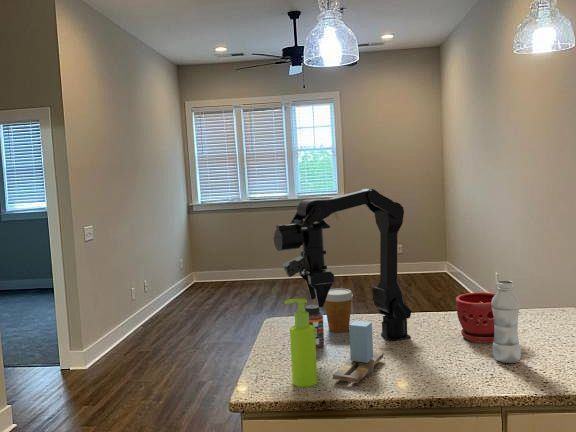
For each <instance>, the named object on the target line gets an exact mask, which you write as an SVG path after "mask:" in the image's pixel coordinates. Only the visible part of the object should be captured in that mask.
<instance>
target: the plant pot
mask: <svg viewBox="0 0 576 432" xmlns="http://www.w3.org/2000/svg"><path fill="white" fill-rule="evenodd" d="M495 294H496V293H494V292H493V293H492V292H468V293H463V294H460V295H457V296H456V297H455V307H456V312H457V318H458V321H459V325H460V326H461V328H462V329H461V331H460V333H461V335H462V336H463V338H465V339H466V340H467V341H470V342H475V343H480V344H487V343H488V344H489V343H493V342H494V330H495V328H494V317H493V311H492V305H491V301H492V298H493V297H494V295H495Z"/></svg>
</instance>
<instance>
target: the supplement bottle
mask: <svg viewBox="0 0 576 432" xmlns="http://www.w3.org/2000/svg"><path fill="white" fill-rule="evenodd" d="M305 311H307V312H308V313H309V325H312V326H314V327H315V340H316V349H317V348H321V347H323V346H324V344H325V333H324V316H323V315H324V314H322V313H321V312H320V307H319V306H318V304H317V305H316V304H310V305H309V304H308V305H305Z"/></svg>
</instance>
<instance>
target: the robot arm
mask: <svg viewBox="0 0 576 432" xmlns="http://www.w3.org/2000/svg"><path fill="white" fill-rule="evenodd" d="M363 205H365V206H366V208H367V209H368V210H369V211H371V212H372V213H373V214H374V218H375V223H376V226H377V228H378V230H379V234H380V236H379V237H380V239H379V240H380V244H379V245H380V246H379V247H380V248H379V251H380V253H379V254H380V255H379V256H380V257H379V259H380V262H379V265H380V266H379V267H380V268H379V270H380V271H379V277H380V278H379V283H378V284H377V286H373V287H372V299H371V301H372V302H373V303H374V306H375V307H376V308H377V309H378V312H379V314H380V315H382V321H381V333H380V336H381V337H383V338H386V339H387V340H389V341H392V342H393V341H398V340H404V339H408V338H411V335H410V334H408V319H410V318H411V315H412V310H411V309H410V308H409V307H408V306H407V305H406V304H405V303H404V297H403V292H402V289H401V287H400V285H399V283H398V242H399V241H398V239H399V238H398V237H399V234H398V233H399V231H400V229H401V227H402V225H403V222H404V217H405V216H404V215H405V209H404V207H403V206H402V204H400V203H399V202H397V201H393V199H390V198H389V197H388V196H385V195H383V194H381V193H380V192H378V191H377V190H376V189H374V188H362V189H361V190H357V191H354V192H349V193H345V194H342V195H338V196H334V197H330V198H320V199H319V198H317V199H316V198H315V199H304V200H301V201H299V204H298V205H297V209H296V213H295V214H294V216H293V218H292V220H291V221H290V223H288V224H276V227H275V228H276V229H275V230H274V234H273V235H274V236H273V242H274V247H275V248H276V249H275V250H277V251H278V252H282V251H289V250H295V249H297V250H298V249H300V248H301V246H302V249H300V255H299V256H297V257H294V258H292V259H290V260H287V261H285V262H283V263H282V267H283V270H284V272H285V273H286V276H287V277H288V278H292V277H293V276H295V275H297V274H298V275H299V276H300V277H301V278H303V280H304V281H305V283H306V284H305V285H306V287H307V290H308V292H309V297H310V299H311V300H316V302H317V305H318V306H319V308H323V307H324V306H325V300H326V298H327V295H328V293H329V290H330V289H332V288H331V287H332V285H334V283H335V274H334V273H333V272H332V271H330V270H329V269H328V266H327V264H326V261H325V260H326V259H325V255H326V254H327V250H326V249H325V246H324V229H325V230H326V229H330V228H331V225H330V224H328V223H327V222H326V221H325V220H324V219H326V218H329V217H330V216H331V215H332V214H334V213H337V212H341V211H344V210H348V209H352V208H356V207H359V206H363Z"/></svg>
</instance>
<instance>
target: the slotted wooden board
mask: <svg viewBox="0 0 576 432" xmlns="http://www.w3.org/2000/svg"><path fill="white" fill-rule="evenodd" d="M383 358H384V352H378V351H373V358H372V359H371V360H370V361H369V362H368V363H364V362H363V363H362V364H361V365H360V366H359V365H358V362H357V361H351V358H350V359H349V360H347V361H346V362H345V363H344V364H343V365H341V366H340V367H339V368H338V369H337V370H336V371H335V372H334V373H333V374H332V379H333V380H338V381H345V382H351V383H356V384H358V383H359V382H360V381H361V380H362V379H363V378H365V376H366V377H369V376H370V375H371V374H372V373H373V372H374V371H375V369H374V367H375V366H376V365H377V364H378V363H379V362H380V361H381V360H382V359H383Z"/></svg>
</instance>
